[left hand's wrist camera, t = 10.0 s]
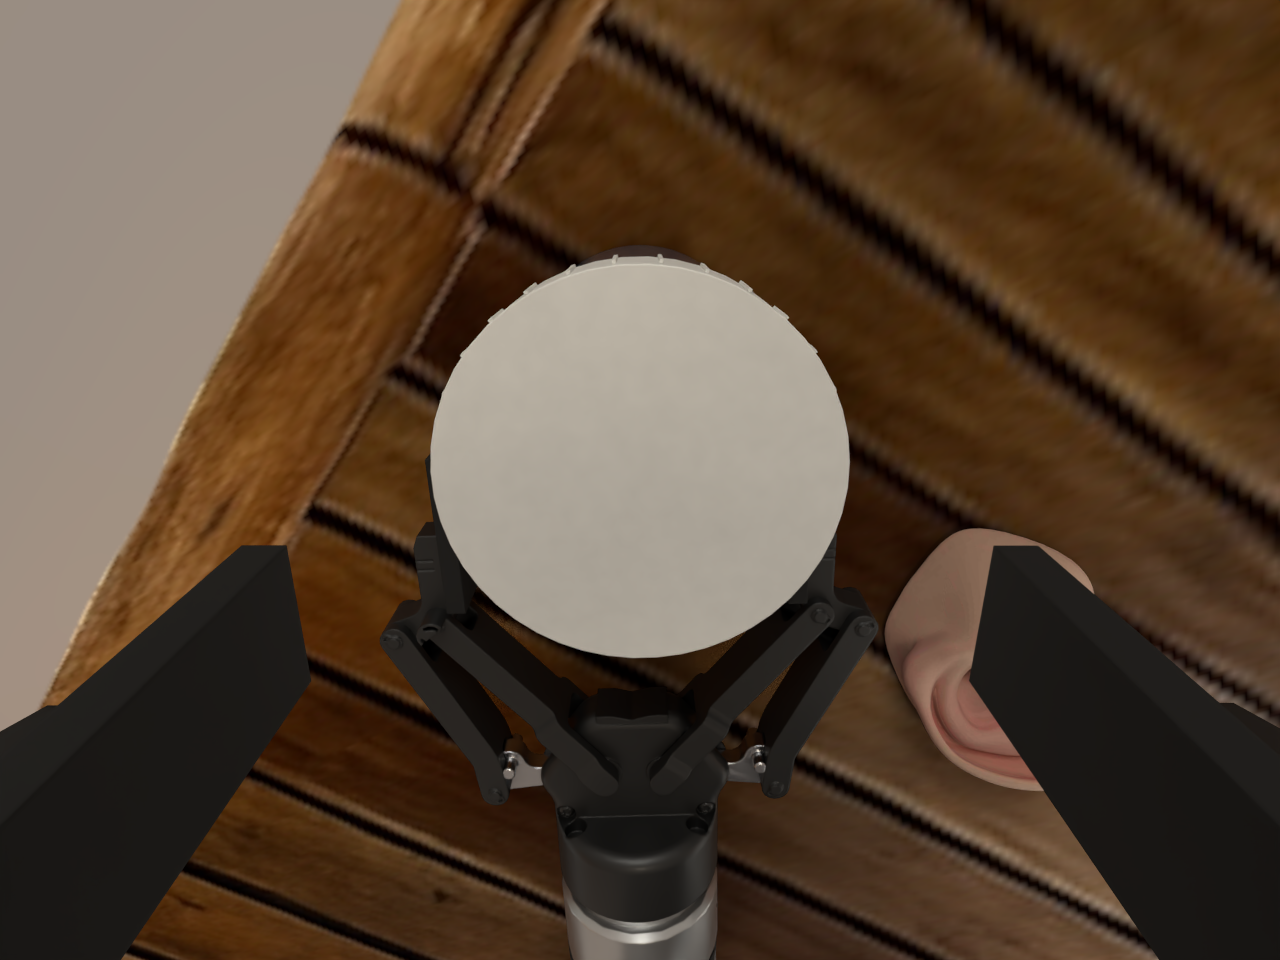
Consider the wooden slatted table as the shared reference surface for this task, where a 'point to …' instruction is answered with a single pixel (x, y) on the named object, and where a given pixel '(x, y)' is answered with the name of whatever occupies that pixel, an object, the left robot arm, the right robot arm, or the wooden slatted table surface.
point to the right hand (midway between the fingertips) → (620, 441)
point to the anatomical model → (957, 653)
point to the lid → (639, 458)
